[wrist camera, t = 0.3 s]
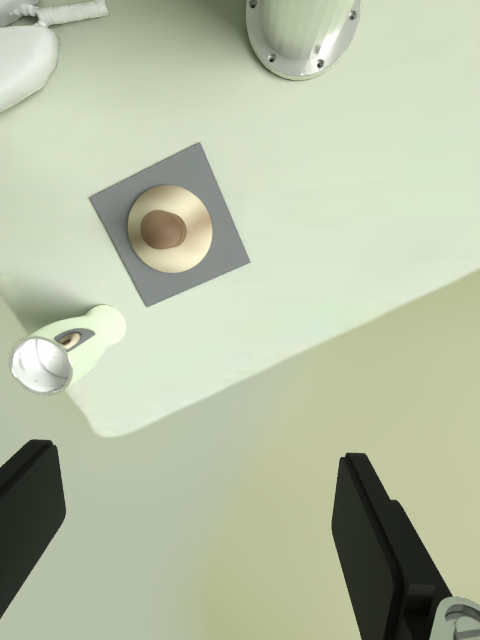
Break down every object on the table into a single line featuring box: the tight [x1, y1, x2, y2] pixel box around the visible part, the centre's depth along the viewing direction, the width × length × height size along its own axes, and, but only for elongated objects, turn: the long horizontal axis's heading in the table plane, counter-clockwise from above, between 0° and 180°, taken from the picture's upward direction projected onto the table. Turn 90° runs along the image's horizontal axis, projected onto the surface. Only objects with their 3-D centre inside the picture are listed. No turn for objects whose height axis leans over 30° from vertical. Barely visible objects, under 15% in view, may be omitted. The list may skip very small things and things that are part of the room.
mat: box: [90, 143, 250, 307], centre depth 42 cm, size 16×16×1 cm
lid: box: [128, 185, 213, 273], centre depth 39 cm, size 11×11×6 cm
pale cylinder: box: [9, 305, 126, 396], centre depth 39 cm, size 7×7×15 cm
